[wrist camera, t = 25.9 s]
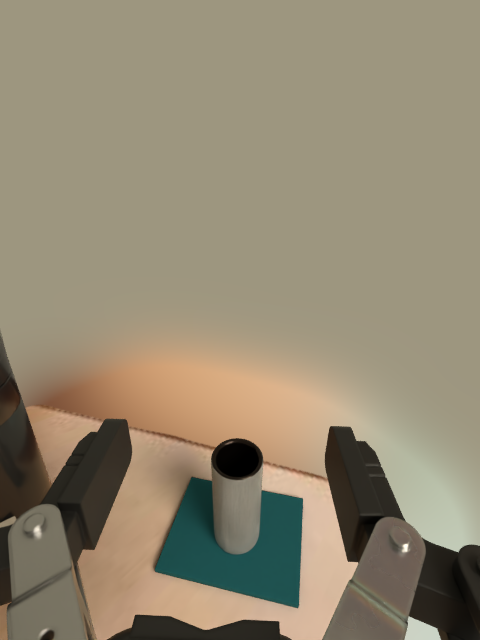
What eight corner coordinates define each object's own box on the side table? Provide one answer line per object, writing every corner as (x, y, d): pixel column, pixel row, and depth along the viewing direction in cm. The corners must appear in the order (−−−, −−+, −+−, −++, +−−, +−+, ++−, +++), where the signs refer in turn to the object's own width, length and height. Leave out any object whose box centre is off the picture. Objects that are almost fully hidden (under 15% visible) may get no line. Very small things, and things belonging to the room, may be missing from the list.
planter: (218, 560, 30) (215, 484, 26) (211, 514, 34) (207, 442, 30) (264, 549, 31) (270, 473, 27) (252, 506, 35) (255, 434, 31)
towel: (155, 572, 30) (154, 568, 30) (191, 479, 39) (191, 476, 39) (298, 608, 28) (298, 605, 27) (302, 501, 36) (303, 498, 36)
